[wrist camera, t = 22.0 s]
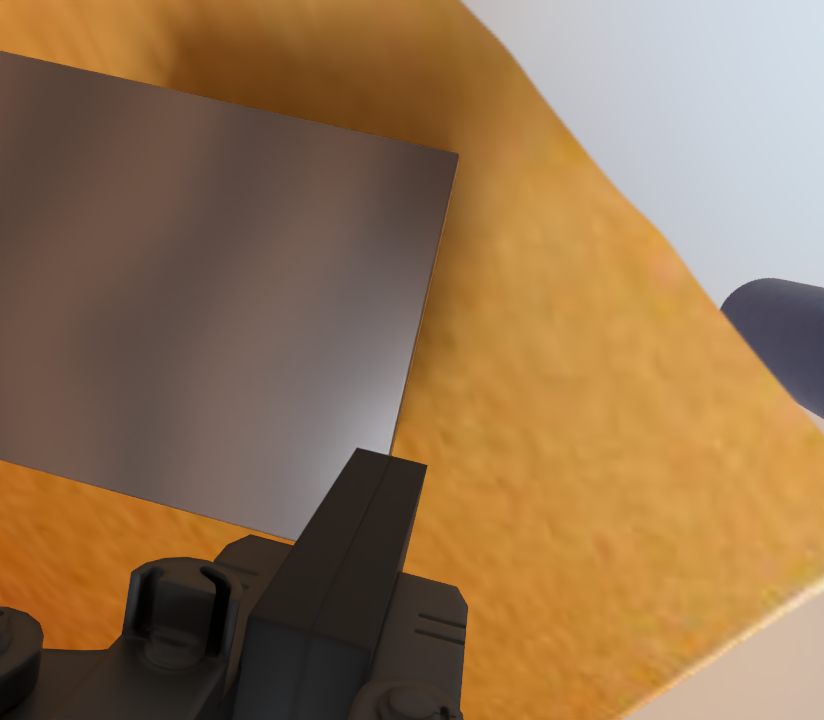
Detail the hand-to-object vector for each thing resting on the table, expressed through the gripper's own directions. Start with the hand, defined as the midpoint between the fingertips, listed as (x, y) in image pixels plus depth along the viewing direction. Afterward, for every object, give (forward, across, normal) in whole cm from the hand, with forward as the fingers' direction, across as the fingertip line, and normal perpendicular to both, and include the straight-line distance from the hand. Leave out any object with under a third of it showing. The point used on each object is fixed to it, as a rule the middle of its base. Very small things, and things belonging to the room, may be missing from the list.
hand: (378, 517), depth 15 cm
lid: (+14, -10, 0) cm, 18 cm away
